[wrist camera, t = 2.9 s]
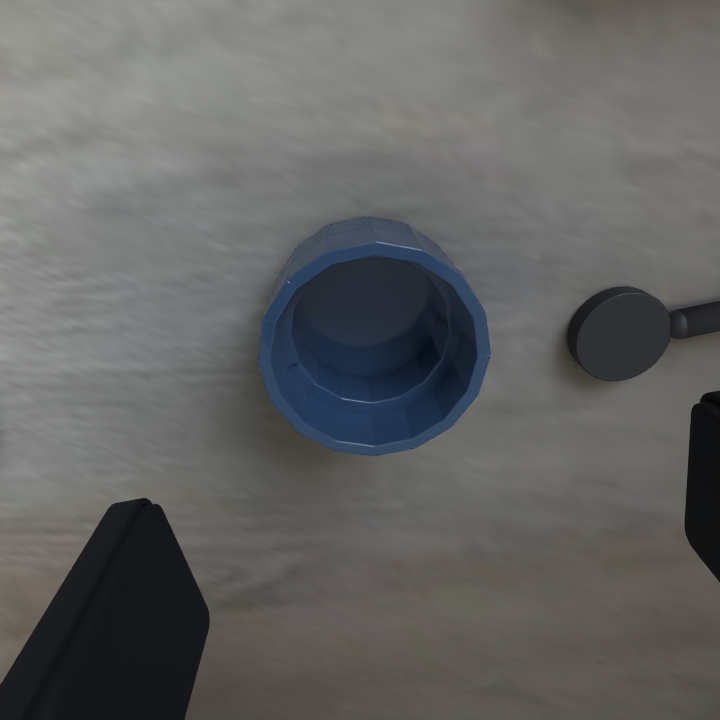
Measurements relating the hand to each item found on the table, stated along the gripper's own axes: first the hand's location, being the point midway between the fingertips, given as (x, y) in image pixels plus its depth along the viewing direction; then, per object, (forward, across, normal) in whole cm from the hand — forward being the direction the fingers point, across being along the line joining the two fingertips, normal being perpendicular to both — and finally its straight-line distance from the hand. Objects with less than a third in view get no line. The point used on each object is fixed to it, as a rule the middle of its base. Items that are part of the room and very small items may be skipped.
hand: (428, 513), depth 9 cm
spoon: (+12, -13, +3) cm, 18 cm away
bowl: (+12, +1, 0) cm, 12 cm away
